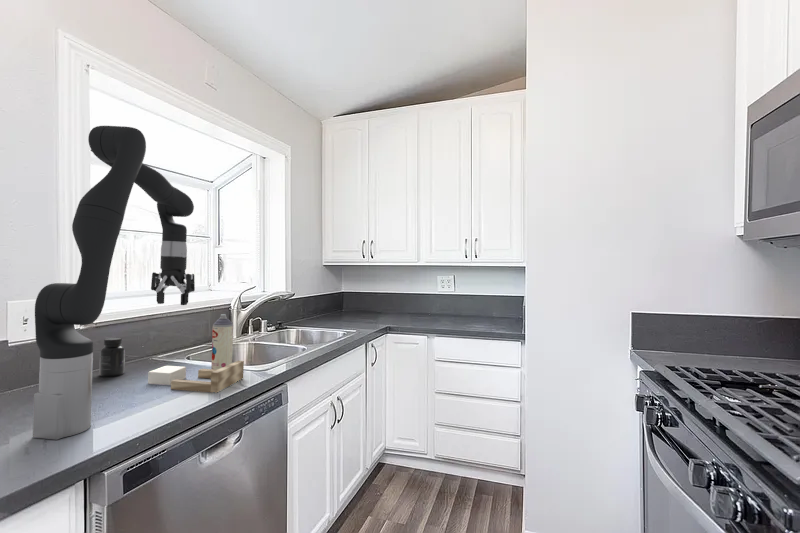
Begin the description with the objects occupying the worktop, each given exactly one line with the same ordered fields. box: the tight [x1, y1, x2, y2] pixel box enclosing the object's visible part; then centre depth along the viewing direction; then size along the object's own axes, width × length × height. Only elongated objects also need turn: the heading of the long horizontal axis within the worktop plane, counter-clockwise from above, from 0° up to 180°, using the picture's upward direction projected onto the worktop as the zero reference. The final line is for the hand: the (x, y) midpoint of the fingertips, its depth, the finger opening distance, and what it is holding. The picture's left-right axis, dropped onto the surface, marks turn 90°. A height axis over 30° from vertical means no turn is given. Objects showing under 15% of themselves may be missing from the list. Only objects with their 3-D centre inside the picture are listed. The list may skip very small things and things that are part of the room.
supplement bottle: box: [98, 337, 126, 378], centre depth 135 cm, size 7×7×12 cm
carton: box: [147, 365, 187, 386], centre depth 130 cm, size 8×7×4 cm
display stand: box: [170, 360, 245, 394], centre depth 128 cm, size 15×15×6 cm
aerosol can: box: [211, 313, 234, 370], centre depth 145 cm, size 7×7×20 cm
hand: (172, 304), depth 133 cm, fingers open, 8 cm apart
